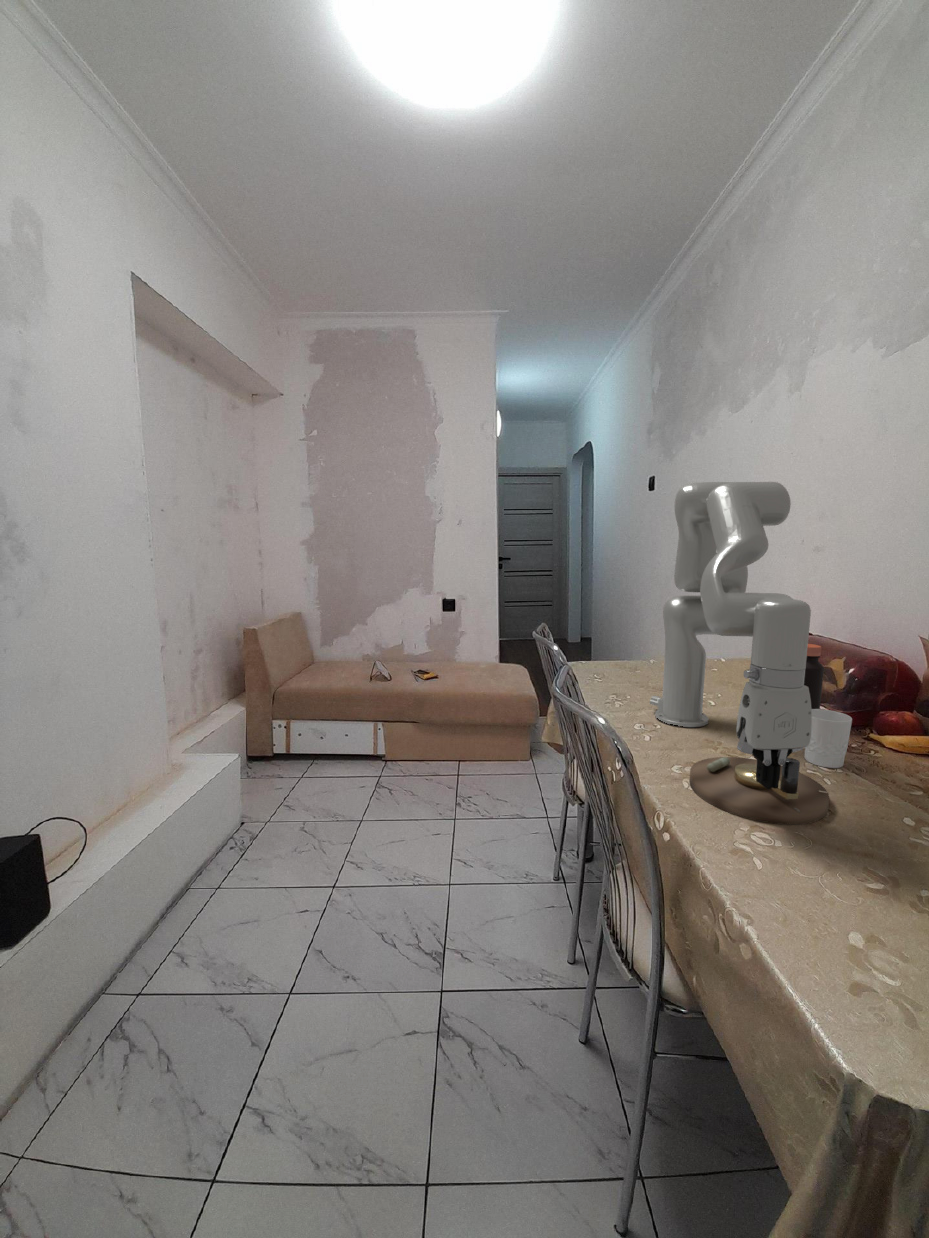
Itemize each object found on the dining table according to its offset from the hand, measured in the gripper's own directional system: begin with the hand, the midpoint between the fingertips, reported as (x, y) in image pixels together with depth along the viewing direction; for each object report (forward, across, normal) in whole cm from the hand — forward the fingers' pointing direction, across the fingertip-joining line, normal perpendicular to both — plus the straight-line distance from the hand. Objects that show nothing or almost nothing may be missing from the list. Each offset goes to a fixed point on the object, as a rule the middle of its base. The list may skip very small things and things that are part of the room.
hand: (766, 784), depth 87 cm
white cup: (+6, +26, +19) cm, 33 cm away
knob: (+3, +4, +5) cm, 7 cm away
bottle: (+6, +37, +40) cm, 55 cm away
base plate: (+6, +4, +8) cm, 11 cm away
